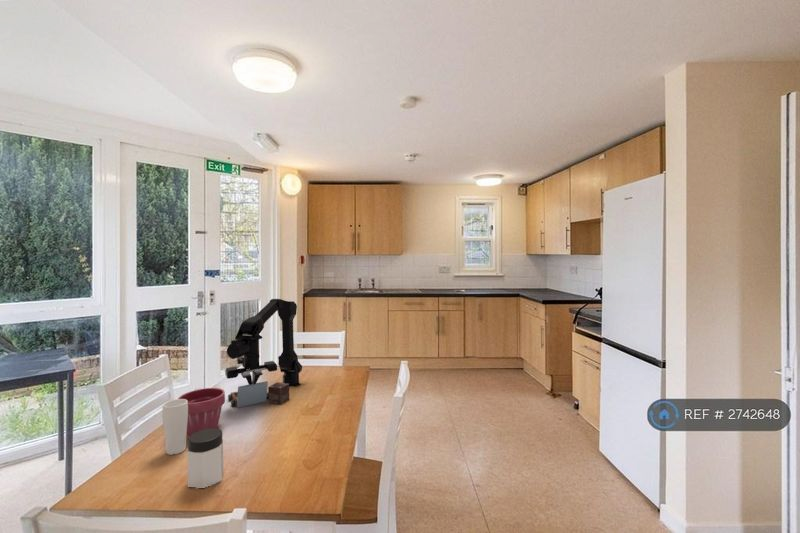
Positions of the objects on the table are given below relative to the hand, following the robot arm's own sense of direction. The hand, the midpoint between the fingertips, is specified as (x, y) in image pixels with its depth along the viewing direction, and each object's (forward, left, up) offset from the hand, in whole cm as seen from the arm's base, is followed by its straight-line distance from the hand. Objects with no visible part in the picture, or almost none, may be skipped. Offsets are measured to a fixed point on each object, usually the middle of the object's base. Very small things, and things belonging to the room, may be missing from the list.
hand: (251, 390), depth 146 cm
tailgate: (0, +1, -2) cm, 2 cm away
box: (-10, +2, -7) cm, 12 cm away
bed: (0, -7, -7) cm, 10 cm away
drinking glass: (+27, +23, -7) cm, 36 cm away
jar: (+21, +45, -7) cm, 50 cm away
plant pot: (+19, +13, -7) cm, 24 cm away
